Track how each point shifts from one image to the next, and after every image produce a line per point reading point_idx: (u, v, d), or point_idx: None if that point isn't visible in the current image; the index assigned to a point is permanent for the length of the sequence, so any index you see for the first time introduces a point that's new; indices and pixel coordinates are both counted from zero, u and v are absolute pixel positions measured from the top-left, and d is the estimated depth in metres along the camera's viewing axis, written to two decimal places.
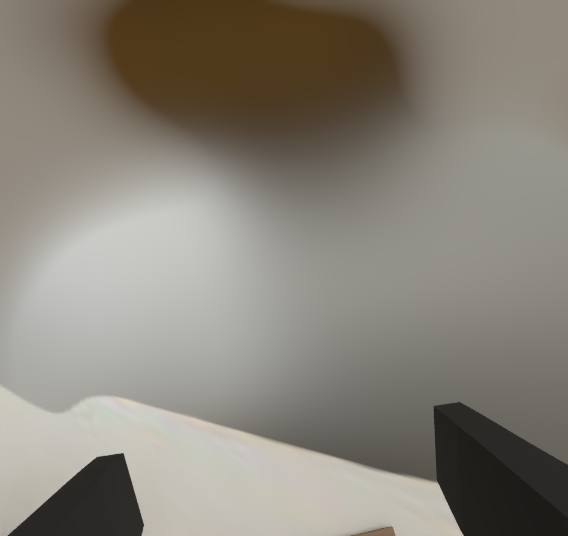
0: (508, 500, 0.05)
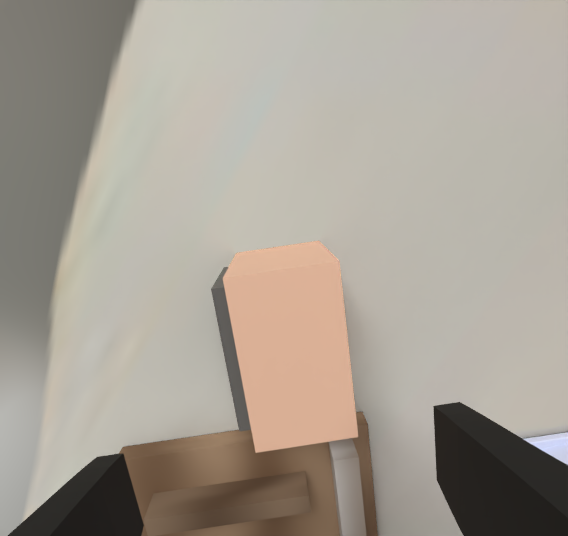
0: (508, 500, 0.05)
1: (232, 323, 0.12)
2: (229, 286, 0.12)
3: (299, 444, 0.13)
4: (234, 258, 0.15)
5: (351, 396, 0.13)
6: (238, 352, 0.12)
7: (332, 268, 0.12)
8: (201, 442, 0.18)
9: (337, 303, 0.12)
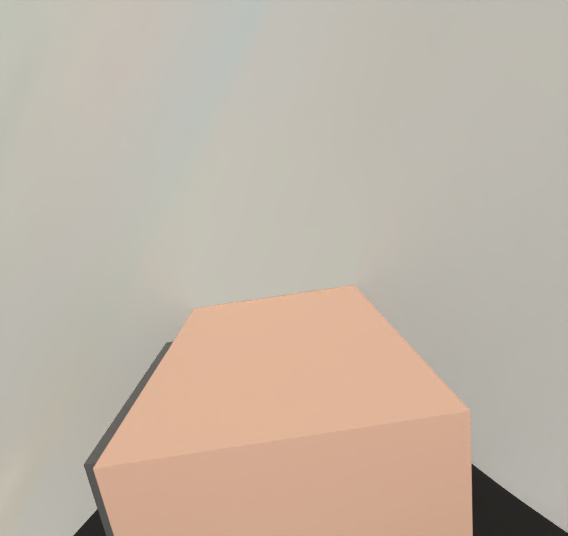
0: None
1: None
2: (117, 491, 0.04)
3: None
4: (181, 333, 0.07)
5: None
6: None
7: (446, 432, 0.04)
8: None
9: (454, 526, 0.04)
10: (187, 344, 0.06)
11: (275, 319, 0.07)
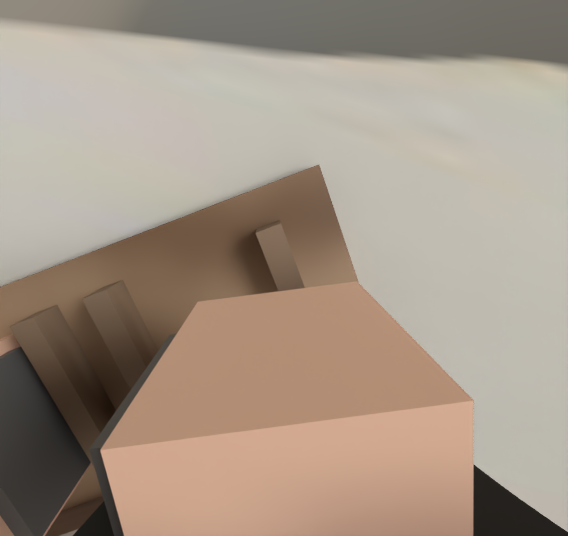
0: None
1: None
2: (123, 473, 0.04)
3: None
4: (185, 324, 0.07)
5: None
6: None
7: (449, 422, 0.04)
8: None
9: (455, 515, 0.04)
10: (191, 335, 0.06)
11: (279, 312, 0.07)
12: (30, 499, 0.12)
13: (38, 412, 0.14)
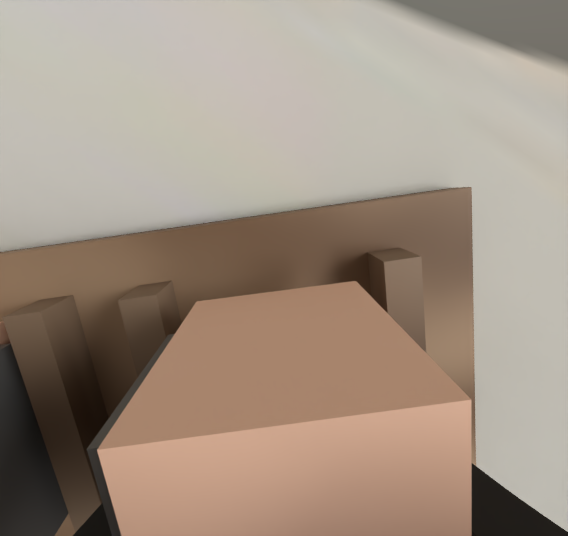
0: None
1: None
2: (120, 473, 0.04)
3: None
4: (183, 324, 0.07)
5: None
6: None
7: (447, 421, 0.04)
8: None
9: (453, 515, 0.04)
10: (189, 335, 0.06)
11: (277, 312, 0.07)
12: None
13: (15, 444, 0.09)
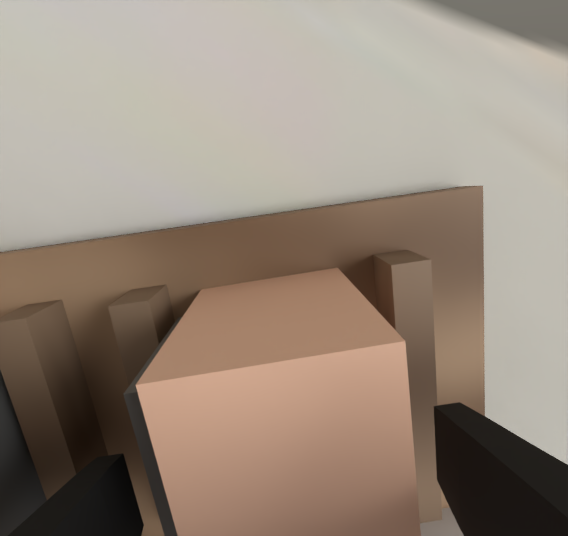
0: (508, 500, 0.05)
1: (164, 478, 0.05)
2: (152, 402, 0.05)
3: None
4: (191, 306, 0.08)
5: None
6: None
7: (389, 357, 0.05)
8: None
9: (398, 430, 0.05)
10: (197, 313, 0.08)
11: (269, 294, 0.08)
12: None
13: None
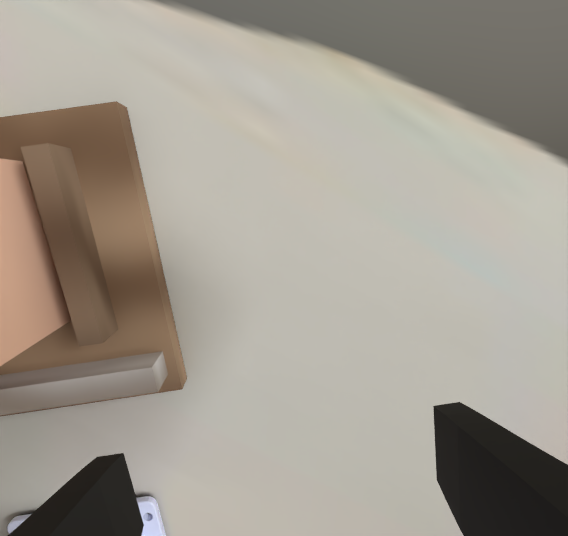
0: (508, 500, 0.05)
1: None
2: None
3: None
4: None
5: None
6: None
7: None
8: (145, 209, 0.15)
9: None
10: None
11: None
12: None
13: None
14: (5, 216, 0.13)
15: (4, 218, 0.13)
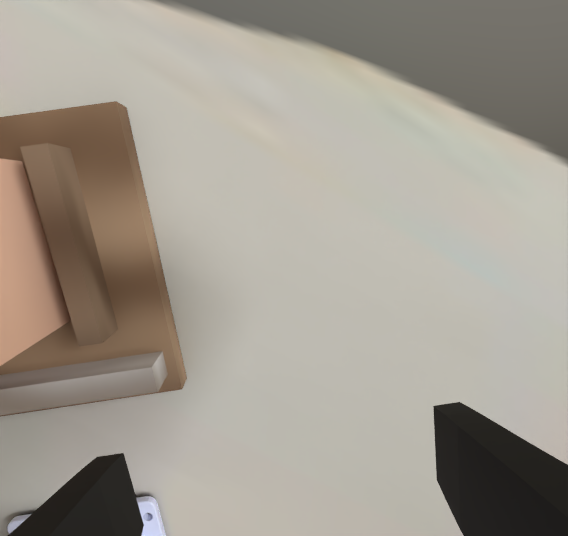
0: (508, 500, 0.05)
1: None
2: None
3: None
4: None
5: None
6: None
7: None
8: (144, 209, 0.15)
9: None
10: None
11: None
12: None
13: None
14: (5, 216, 0.13)
15: (4, 218, 0.13)
